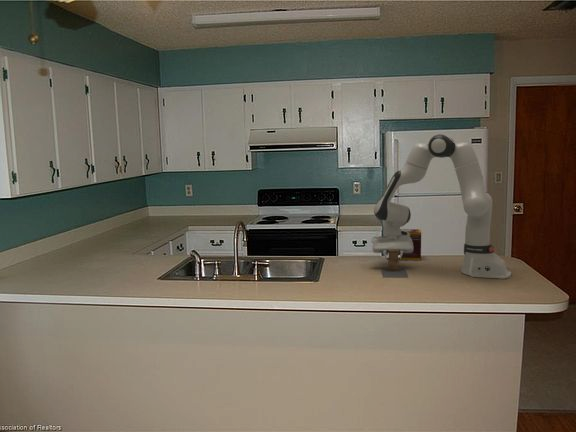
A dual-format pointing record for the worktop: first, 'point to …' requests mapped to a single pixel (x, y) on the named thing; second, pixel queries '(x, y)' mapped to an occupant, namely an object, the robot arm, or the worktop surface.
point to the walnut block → (393, 260)
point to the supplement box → (416, 239)
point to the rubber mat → (394, 273)
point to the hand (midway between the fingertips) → (393, 259)
